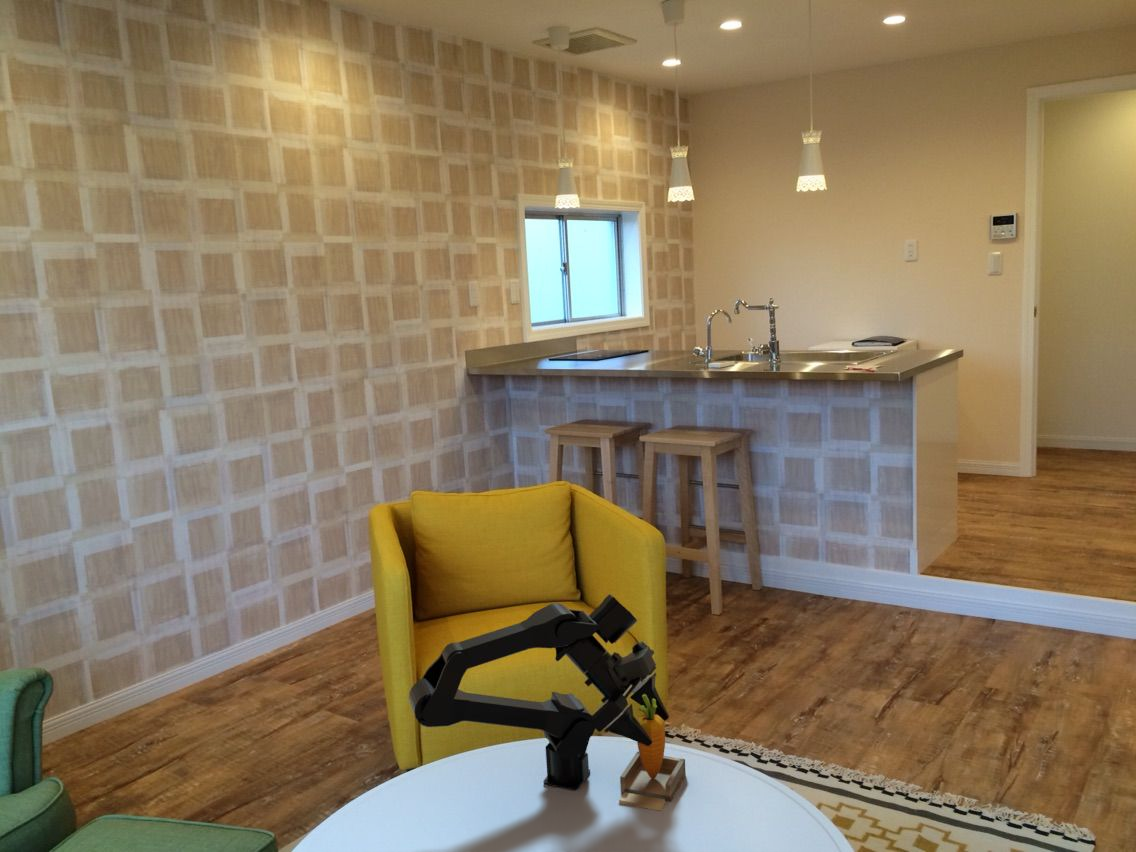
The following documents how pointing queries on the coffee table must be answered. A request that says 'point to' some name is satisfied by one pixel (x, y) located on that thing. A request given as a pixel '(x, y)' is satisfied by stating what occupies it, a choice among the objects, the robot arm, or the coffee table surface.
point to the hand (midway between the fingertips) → (659, 731)
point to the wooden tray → (651, 783)
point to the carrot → (652, 738)
